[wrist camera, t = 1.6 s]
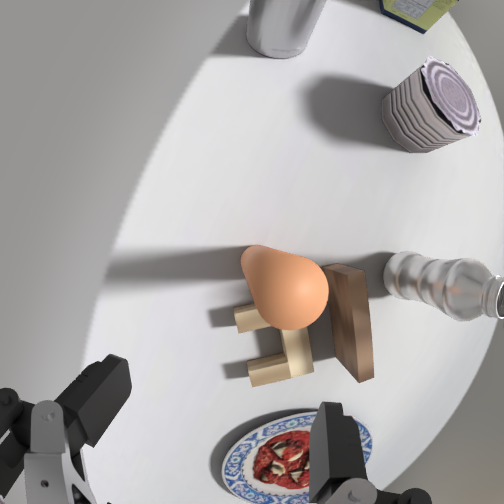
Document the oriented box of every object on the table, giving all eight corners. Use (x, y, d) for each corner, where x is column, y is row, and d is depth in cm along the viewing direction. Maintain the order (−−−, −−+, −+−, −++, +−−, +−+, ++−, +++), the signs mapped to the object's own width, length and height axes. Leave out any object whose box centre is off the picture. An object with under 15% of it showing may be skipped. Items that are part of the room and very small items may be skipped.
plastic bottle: (417, 285, 36) (522, 313, 17) (382, 302, 36) (485, 348, 16) (408, 243, 36) (520, 250, 16) (372, 259, 36) (484, 279, 16)
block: (233, 307, 34) (233, 314, 32) (296, 293, 35) (302, 298, 32) (250, 376, 35) (252, 387, 32) (308, 362, 36) (314, 371, 33)
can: (370, 87, 34) (409, 48, 22) (423, 93, 35) (465, 64, 23) (391, 156, 35) (443, 131, 23) (442, 155, 36) (493, 137, 24)
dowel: (237, 248, 34) (246, 265, 14) (269, 241, 34) (321, 248, 15) (244, 280, 34) (262, 338, 15) (276, 273, 35) (333, 319, 15)
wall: (322, 266, 35) (347, 275, 27) (336, 263, 35) (364, 270, 27) (335, 357, 36) (358, 383, 28) (348, 353, 36) (374, 377, 28)
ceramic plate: (200, 485, 36) (199, 496, 33) (262, 385, 36) (265, 396, 33) (320, 503, 38) (323, 513, 35) (394, 417, 38) (402, 425, 35)
